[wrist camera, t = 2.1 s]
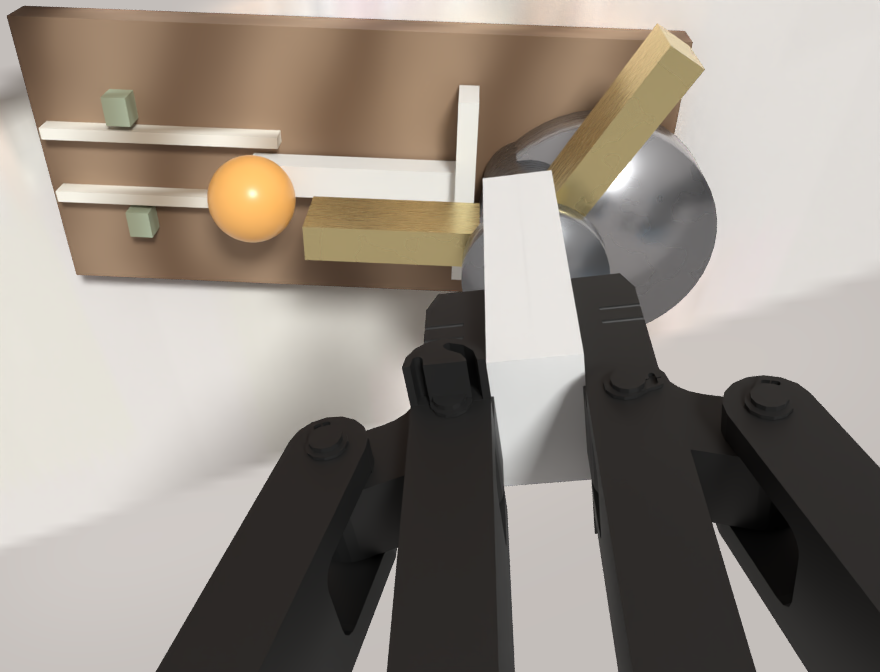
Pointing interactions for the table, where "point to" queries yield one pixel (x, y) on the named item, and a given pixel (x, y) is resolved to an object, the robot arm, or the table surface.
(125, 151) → the board
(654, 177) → the cam capstan
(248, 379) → the table surface
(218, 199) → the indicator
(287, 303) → the table surface
